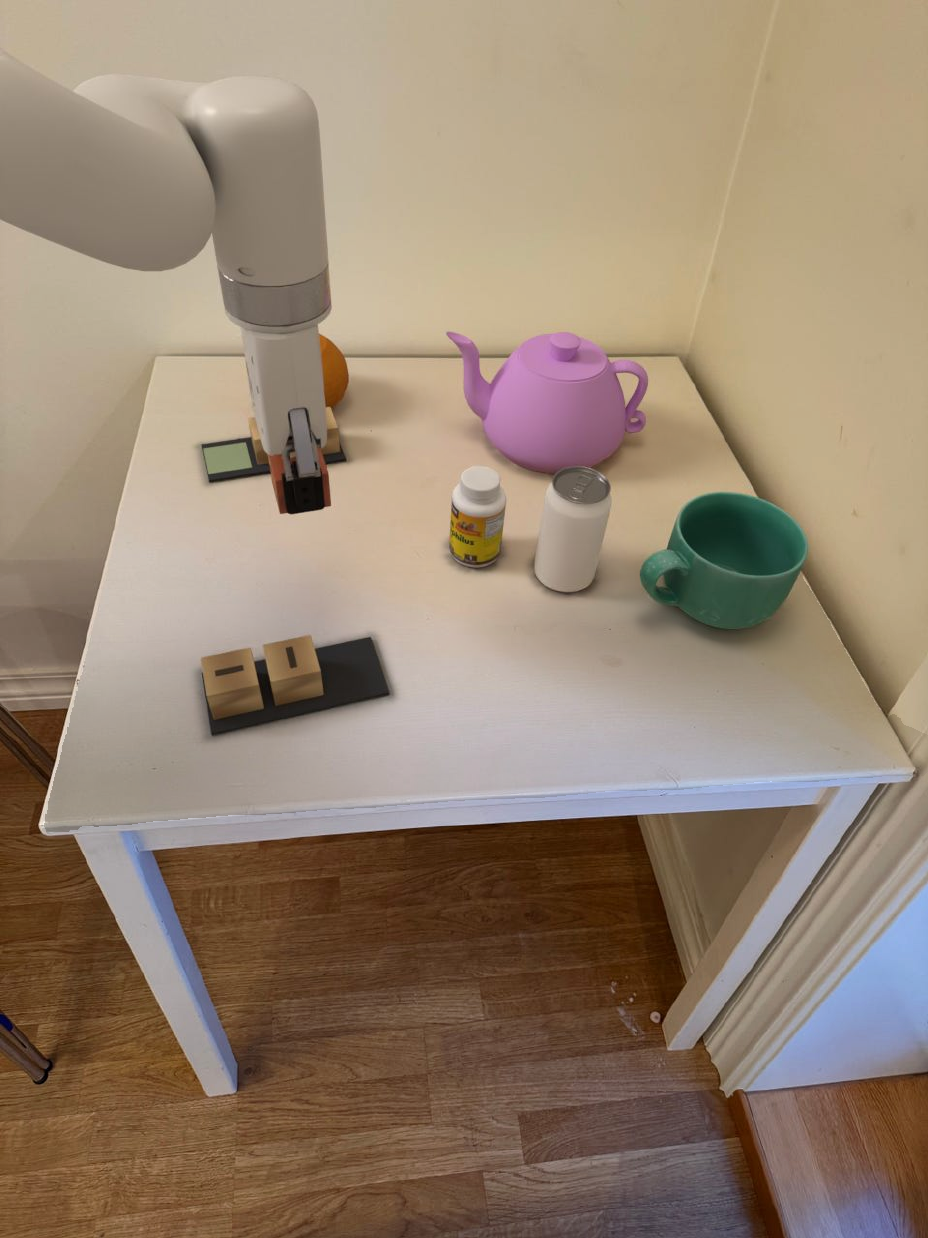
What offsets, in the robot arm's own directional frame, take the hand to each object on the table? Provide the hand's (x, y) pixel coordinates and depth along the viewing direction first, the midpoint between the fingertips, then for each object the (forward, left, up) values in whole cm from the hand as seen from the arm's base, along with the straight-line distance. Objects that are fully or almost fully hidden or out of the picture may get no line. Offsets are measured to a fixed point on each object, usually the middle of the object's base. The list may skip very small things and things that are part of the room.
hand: (300, 489), depth 71 cm
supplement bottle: (+17, -7, -15) cm, 24 cm away
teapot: (+39, 0, -15) cm, 42 cm away
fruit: (+24, +27, -15) cm, 40 cm away
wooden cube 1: (-12, -3, -15) cm, 20 cm away
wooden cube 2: (-8, -6, -15) cm, 18 cm away
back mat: (+14, +22, -15) cm, 30 cm away
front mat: (-8, -6, -15) cm, 18 cm away
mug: (+27, -29, -15) cm, 42 cm away
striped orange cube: (0, 0, -1) cm, 1 cm away
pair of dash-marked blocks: (+16, +20, -15) cm, 30 cm away
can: (+21, -16, -15) cm, 30 cm away
